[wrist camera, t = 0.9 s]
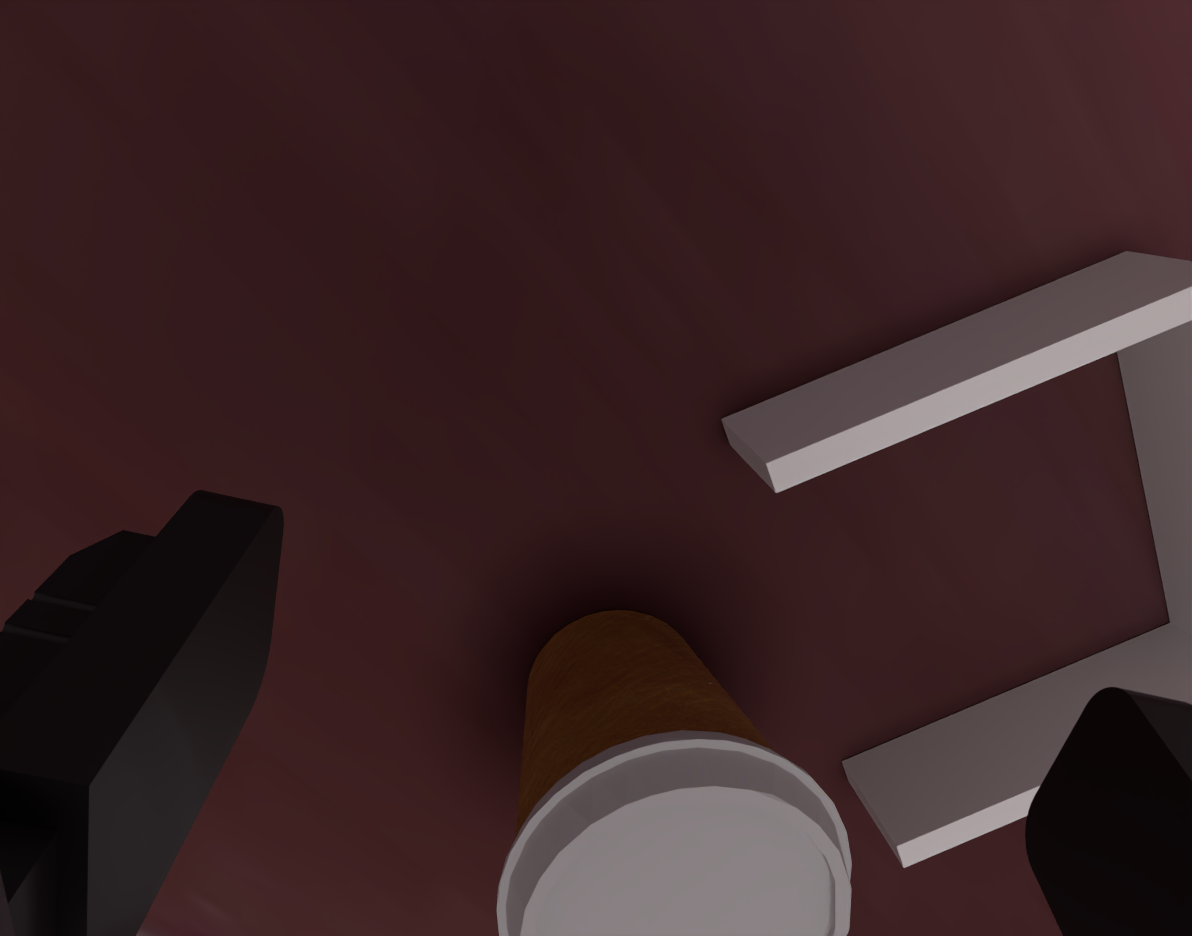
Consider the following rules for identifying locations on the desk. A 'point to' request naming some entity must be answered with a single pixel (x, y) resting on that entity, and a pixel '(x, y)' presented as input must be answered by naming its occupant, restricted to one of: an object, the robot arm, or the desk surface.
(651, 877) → the disposable coffee cup
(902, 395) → the grey bay
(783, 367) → the desk surface
